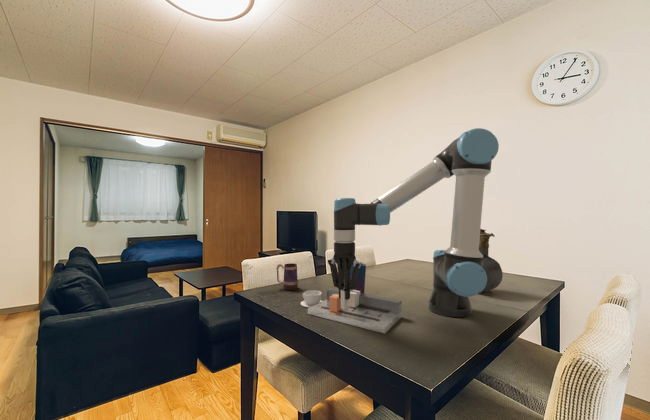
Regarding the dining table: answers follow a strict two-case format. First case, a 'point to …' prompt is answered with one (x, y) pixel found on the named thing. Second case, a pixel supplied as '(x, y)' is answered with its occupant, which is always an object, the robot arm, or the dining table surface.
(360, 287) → the cup
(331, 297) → the block
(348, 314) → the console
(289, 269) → the mug
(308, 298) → the teacup
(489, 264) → the pitcher
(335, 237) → the robot arm
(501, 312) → the dining table surface
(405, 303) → the dining table surface
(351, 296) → the fader
